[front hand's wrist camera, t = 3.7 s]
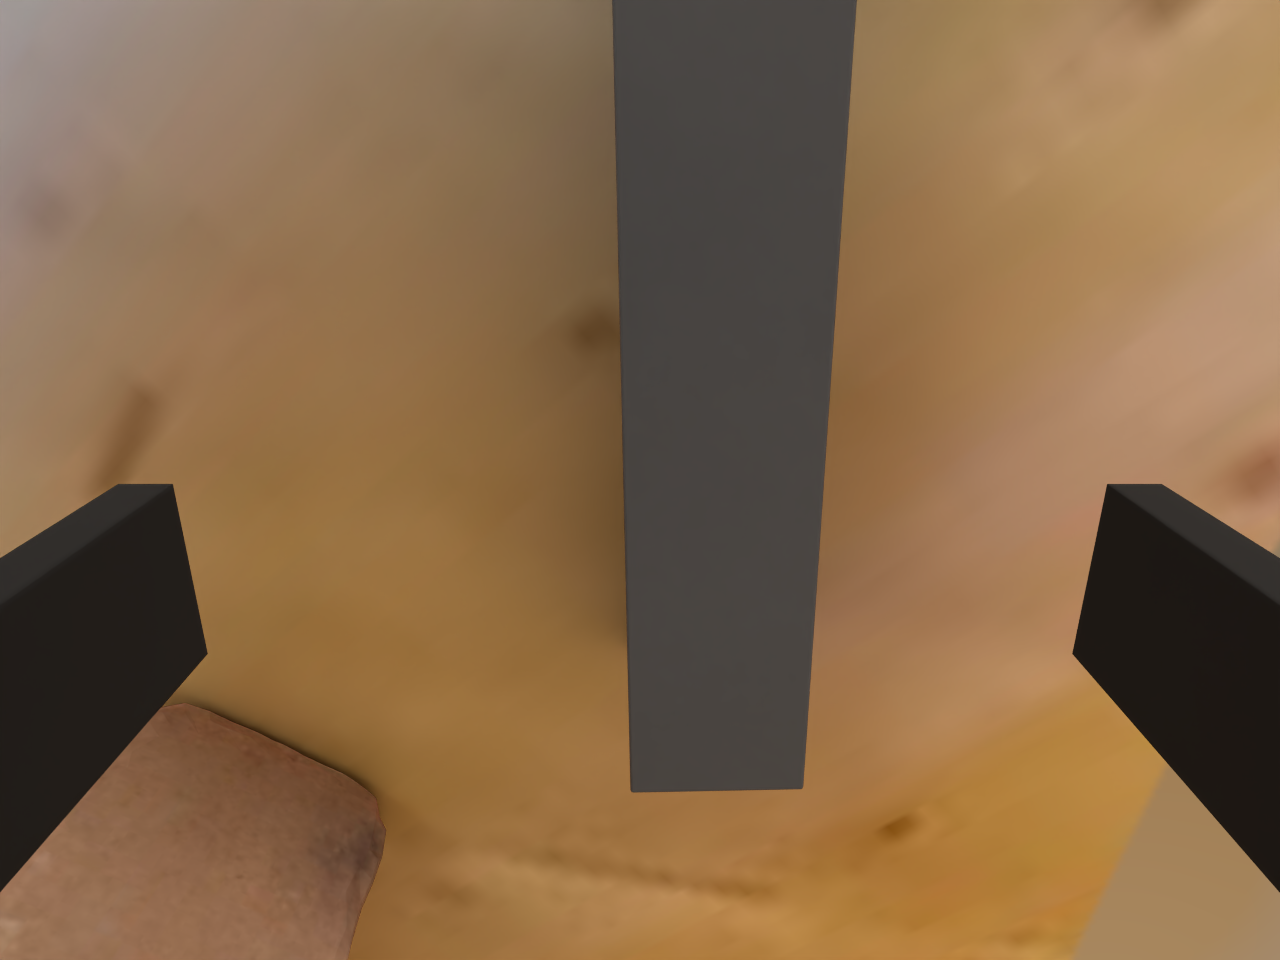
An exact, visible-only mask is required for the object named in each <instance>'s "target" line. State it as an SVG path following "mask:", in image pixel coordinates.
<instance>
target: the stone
mask: <svg viewBox="0 0 1280 960" xmlns="http://www.w3.org/2000/svg"><path fill="white" fill-rule="evenodd" d="M385 835H386V829H385V827H384V825H383V823H382V821H381V819H380V816H379V811H378V805H377V800H376V797H375V796H373V795H372V794H371V793H370V792H369V791H367V790H366V789H365V788H363V787H362V786H361V785H359V784H358V783H357V782H355V781H354V780H352V779H351V778H349V777H348V776H346V775H345V774H343V773H341V772H339V771H336V770H334V769H332V768H329V767H327V766H325V765H323V764H321V763H319V762H316V761H314V760H312V759H310V758H308V757H306V756H304V755H302V754H300V753H299V752H297V751H295V750H293V749H291V748H289V747H287V746H285V745H283V744H281V743H278V742H276V741H273V740H271V739H269V738H268V737H266V736H264V735H262V734H260V733H258V732H255V731H253V730H251V729H248V728H246V727H243V726H241V725H239V724H236V723H234V722H231V721H229V720H227V719H225V718H223V717H221V716H219V715H217V714H215V713H213V712H211V711H208V710H205V709H202V708H199V707H196V706H193V705H190V704H187V703H182V704H177V705H171V706H166V707H161V708H160V709H159V710H158V711H157V713H156V714H155V715H154V716H153V717H152V718H151V720H150V721H149V722H148V723H147V724H146V725H145V726H144V728H143V729H142V730H141V731H140V732H139V733H138V734H137V736H136V737H135V738H134V739H133V740H132V741H131V743H130V744H129V745H128V746H127V747H126V748H125V749H124V751H123V752H122V753H121V754H120V755H119V756H118V757H117V759H116V760H115V761H114V762H113V763H112V764H111V766H110V767H109V768H108V769H107V770H106V771H105V772H104V774H103V775H102V776H101V777H100V778H99V779H98V780H97V782H96V783H95V784H94V785H93V786H92V787H91V789H90V790H89V791H88V792H87V793H86V794H85V795H84V797H83V798H82V799H81V800H80V801H79V802H78V804H77V805H76V806H75V807H74V808H73V809H72V810H71V812H70V813H69V814H68V815H67V816H66V817H65V818H64V820H63V821H62V822H61V823H60V824H59V825H58V827H57V828H56V829H55V830H54V831H53V832H52V833H51V835H50V836H49V837H48V838H47V839H46V840H45V841H44V843H43V844H42V845H41V846H40V847H39V848H38V850H37V851H36V852H35V853H34V854H33V855H32V856H31V858H30V859H29V860H28V861H27V862H26V863H25V864H24V866H23V867H22V868H21V869H20V870H19V871H18V873H17V874H16V875H15V876H14V877H13V878H12V879H11V881H10V882H9V883H8V884H7V885H6V886H5V887H4V889H3V890H2V891H1V892H0V960H348V956H349V952H350V948H351V943H352V939H353V936H354V932H355V929H356V926H357V922H358V919H359V916H360V912H361V909H362V907H363V904H364V902H365V900H366V897H367V895H368V893H369V891H370V888H371V886H372V884H373V881H374V879H375V876H376V873H377V870H378V867H379V864H380V861H381V858H382V855H383V848H384V841H385Z"/></svg>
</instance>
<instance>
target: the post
mask: <svg viewBox="0 0 1280 960" xmlns="http://www.w3.org/2000/svg"><path fill="white" fill-rule="evenodd" d="M856 3H857V0H612V6H613V50H614V93H615V136H616V180H617V223H618V267H619V310H620V353H621V397H622V440H623V484H624V527H625V570H626V614H627V657H628V701H629V744H630V787H631V792H680V791H730V790H780V789H802V788H803V781H804V767H805V752H806V737H807V723H808V708H809V693H810V679H811V664H812V649H813V635H814V620H815V605H816V590H817V576H818V561H819V546H820V532H821V517H822V502H823V488H824V473H825V458H826V444H827V429H828V414H829V399H830V385H831V370H832V355H833V341H834V326H835V311H836V297H837V282H838V267H839V253H840V238H841V223H842V208H843V194H844V179H845V164H846V150H847V135H848V120H849V106H850V91H851V76H852V62H853V47H854V32H855V17H856Z"/></svg>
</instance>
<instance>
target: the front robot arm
mask: <svg viewBox="0 0 1280 960" xmlns="http://www.w3.org/2000/svg"><path fill="white" fill-rule="evenodd" d="M206 655H207V649H206V644H205V639H204V634H203V629H202V624H201V619H200V615H199V610H198V605H197V600H196V595H195V590H194V585H193V580H192V576H191V571H190V566H189V561H188V556H187V551H186V546H185V542H184V537H183V532H182V527H181V522H180V517H179V512H178V507H177V503H176V498H175V493H174V488H173V484H118V485H116V486H114V487H113V488H111V489H110V490H108V491H106V492H105V493H103V494H102V495H100V496H99V497H97V498H95V499H94V500H92V501H91V502H89V503H87V504H86V505H84V506H83V507H81V508H79V509H78V510H76V511H75V512H73V513H71V514H70V515H68V516H67V517H65V518H64V519H62V520H60V521H59V522H57V523H56V524H54V525H52V526H51V527H49V528H48V529H46V530H44V531H43V532H41V533H40V534H38V535H36V536H35V537H33V538H32V539H30V540H28V541H27V542H25V543H24V544H22V545H21V546H19V547H17V548H16V549H14V550H13V551H11V552H9V553H8V554H6V555H5V556H3V557H1V558H0V892H1V891H2V890H3V889H4V887H5V886H6V885H7V884H8V883H9V882H10V881H11V879H12V878H13V877H14V876H15V875H16V874H17V873H18V871H19V870H20V869H21V868H22V867H23V866H24V864H25V863H26V862H27V861H28V860H29V859H30V858H31V856H32V855H33V854H34V853H35V852H36V851H37V850H38V848H39V847H40V846H41V845H42V844H43V843H44V841H45V840H46V839H47V838H48V837H49V836H50V835H51V833H52V832H53V831H54V830H55V829H56V828H57V827H58V825H59V824H60V823H61V822H62V821H63V820H64V818H65V817H66V816H67V815H68V814H69V813H70V812H71V810H72V809H73V808H74V807H75V806H76V805H77V804H78V802H79V801H80V800H81V799H82V798H83V797H84V795H85V794H86V793H87V792H88V791H89V790H90V789H91V787H92V786H93V785H94V784H95V783H96V782H97V780H98V779H99V778H100V777H101V776H102V775H103V774H104V772H105V771H106V770H107V769H108V768H109V767H110V766H111V764H112V763H113V762H114V761H115V760H116V759H117V757H118V756H119V755H120V754H121V753H122V752H123V751H124V749H125V748H126V747H127V746H128V745H129V744H130V743H131V741H132V740H133V739H134V738H135V737H136V736H137V734H138V733H139V732H140V731H141V730H142V729H143V728H144V726H145V725H146V724H147V723H148V722H149V721H150V720H151V718H152V717H153V716H154V715H155V714H156V713H157V711H158V710H159V709H160V708H161V707H162V706H163V705H164V703H165V702H166V701H167V700H168V699H169V698H170V696H171V695H172V694H173V693H174V692H175V691H176V690H177V688H178V687H179V686H180V685H181V684H182V683H183V682H184V680H185V679H186V678H187V677H188V676H189V675H190V673H191V672H192V671H193V670H194V669H195V668H196V667H197V665H198V664H199V663H200V662H201V661H202V660H203V659H204V657H205V656H206ZM1073 655H1074V656H1075V657H1076V659H1077V660H1078V661H1079V662H1080V663H1081V664H1082V665H1083V667H1084V668H1085V669H1086V670H1087V671H1088V672H1089V673H1090V675H1091V676H1092V677H1093V678H1094V679H1095V680H1096V682H1097V683H1098V684H1099V685H1100V686H1101V687H1102V688H1103V690H1104V691H1105V692H1106V693H1107V694H1108V695H1109V696H1110V698H1111V699H1112V700H1113V701H1114V702H1115V703H1116V705H1117V706H1118V707H1119V708H1120V709H1121V710H1122V711H1123V713H1124V714H1125V715H1126V716H1127V717H1128V718H1129V719H1130V721H1131V722H1132V723H1133V724H1134V725H1135V726H1136V728H1137V729H1138V730H1139V731H1140V732H1141V733H1142V734H1143V736H1144V737H1145V738H1146V739H1147V740H1148V741H1149V743H1150V744H1151V745H1152V746H1153V747H1154V748H1155V749H1156V751H1157V752H1158V753H1159V754H1160V755H1161V756H1162V757H1163V759H1164V760H1165V761H1166V762H1167V763H1168V764H1169V766H1170V767H1171V768H1172V769H1173V770H1174V771H1175V772H1176V774H1177V775H1178V776H1179V777H1180V778H1181V779H1182V780H1183V782H1184V783H1185V784H1186V785H1187V786H1188V787H1189V789H1190V790H1191V791H1192V792H1193V793H1194V794H1195V795H1196V797H1197V798H1198V799H1199V800H1200V801H1201V802H1202V803H1203V805H1204V806H1205V807H1206V808H1207V809H1208V810H1209V812H1210V813H1211V814H1212V815H1213V816H1214V817H1215V818H1216V820H1217V821H1218V822H1219V823H1220V824H1221V825H1222V826H1223V828H1224V829H1225V830H1226V831H1227V832H1228V833H1229V835H1230V836H1231V837H1232V838H1233V839H1234V840H1235V841H1236V843H1237V844H1238V845H1239V846H1240V847H1241V848H1242V849H1243V851H1244V852H1245V853H1246V854H1247V855H1248V856H1249V858H1250V859H1251V860H1252V861H1253V862H1254V863H1255V864H1256V866H1257V867H1258V868H1259V869H1260V870H1261V871H1262V872H1263V874H1264V875H1265V876H1266V877H1267V878H1268V879H1269V881H1270V882H1271V883H1272V884H1273V885H1274V886H1275V887H1276V889H1277V890H1278V891H1279V892H1280V558H1279V557H1277V556H1275V555H1274V554H1272V553H1271V552H1269V551H1267V550H1266V549H1264V548H1263V547H1261V546H1259V545H1258V544H1256V543H1255V542H1253V541H1252V540H1250V539H1248V538H1247V537H1245V536H1244V535H1242V534H1240V533H1239V532H1237V531H1236V530H1234V529H1232V528H1231V527H1229V526H1228V525H1226V524H1224V523H1223V522H1221V521H1220V520H1218V519H1216V518H1215V517H1213V516H1212V515H1210V514H1209V513H1207V512H1205V511H1204V510H1202V509H1201V508H1199V507H1197V506H1196V505H1194V504H1193V503H1191V502H1189V501H1188V500H1186V499H1185V498H1183V497H1181V496H1180V495H1178V494H1177V493H1175V492H1174V491H1172V490H1170V489H1169V488H1167V487H1166V486H1164V485H1162V484H1107V488H1106V493H1105V498H1104V503H1103V507H1102V512H1101V517H1100V522H1099V527H1098V532H1097V537H1096V542H1095V546H1094V551H1093V556H1092V561H1091V566H1090V571H1089V576H1088V580H1087V585H1086V590H1085V595H1084V600H1083V605H1082V610H1081V615H1080V619H1079V624H1078V629H1077V634H1076V639H1075V644H1074V649H1073Z"/></svg>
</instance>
